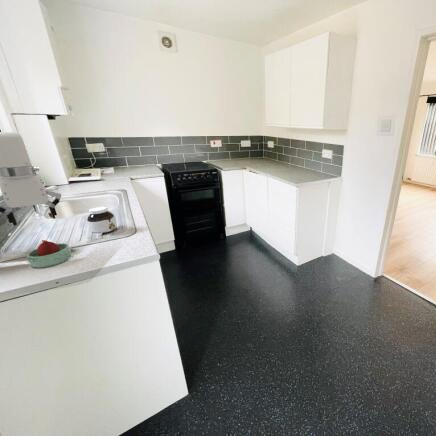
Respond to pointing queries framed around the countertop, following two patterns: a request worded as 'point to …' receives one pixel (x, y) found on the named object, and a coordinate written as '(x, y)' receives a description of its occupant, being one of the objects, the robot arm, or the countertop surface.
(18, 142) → the robot arm
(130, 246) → the countertop surface
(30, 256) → the green shallow round dish
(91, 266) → the countertop surface
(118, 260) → the countertop surface
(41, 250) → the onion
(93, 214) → the spread jar
